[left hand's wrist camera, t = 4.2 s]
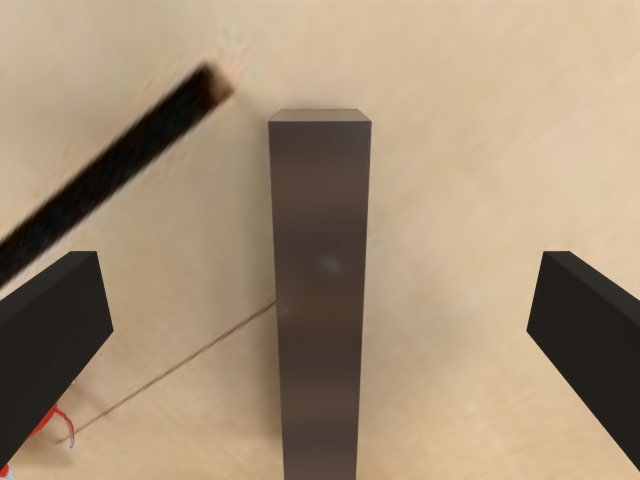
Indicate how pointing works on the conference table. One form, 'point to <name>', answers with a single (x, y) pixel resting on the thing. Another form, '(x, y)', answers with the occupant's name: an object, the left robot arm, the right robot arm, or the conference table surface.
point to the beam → (319, 284)
